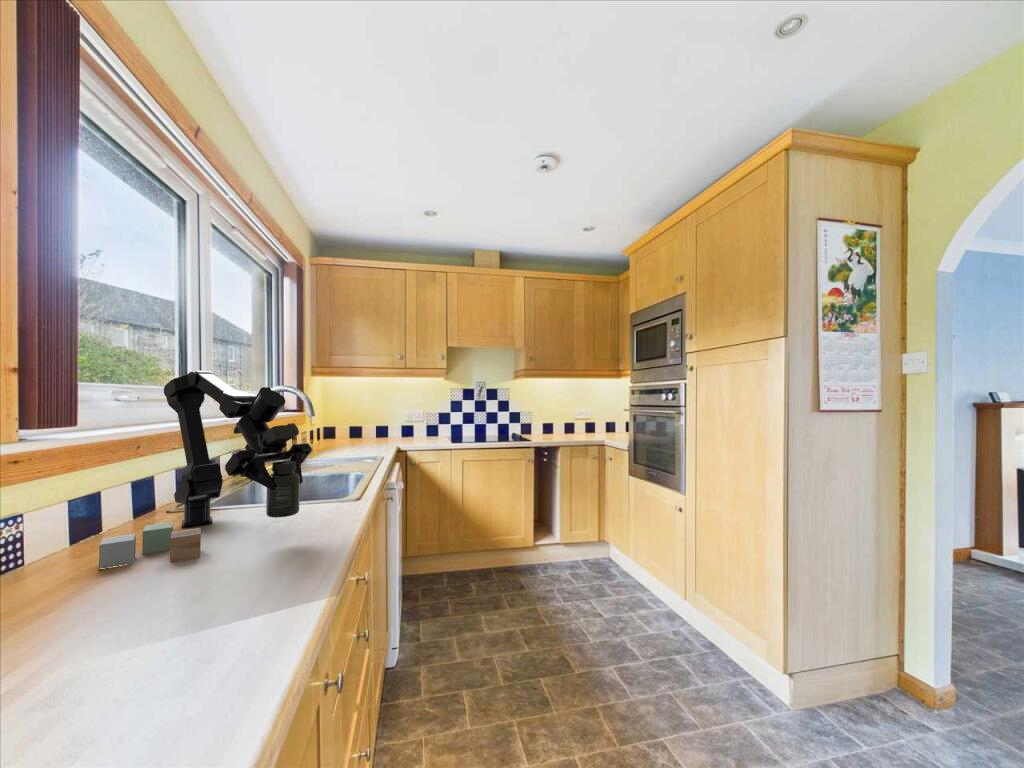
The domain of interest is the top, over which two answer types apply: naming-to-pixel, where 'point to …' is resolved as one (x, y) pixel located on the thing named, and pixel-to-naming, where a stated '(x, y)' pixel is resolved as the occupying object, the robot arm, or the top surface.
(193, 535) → the walnut block
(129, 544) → the slate grey block
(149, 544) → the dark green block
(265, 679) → the top surface
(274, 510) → the supplement bottle
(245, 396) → the robot arm
